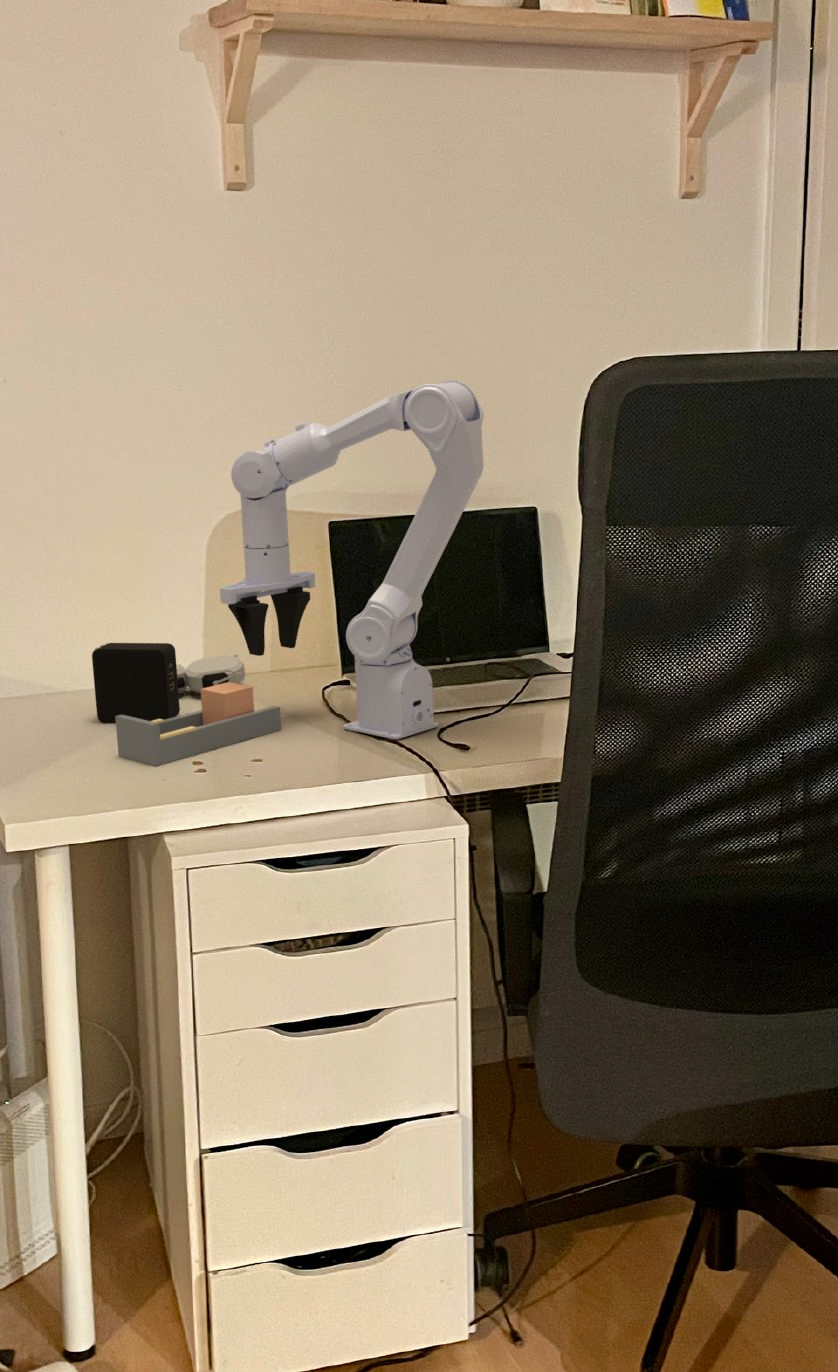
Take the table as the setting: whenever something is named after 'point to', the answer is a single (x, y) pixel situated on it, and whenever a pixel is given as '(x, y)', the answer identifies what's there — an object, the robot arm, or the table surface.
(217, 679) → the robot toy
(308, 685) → the table surface
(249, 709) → the block
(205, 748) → the trough
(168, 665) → the electronic device
